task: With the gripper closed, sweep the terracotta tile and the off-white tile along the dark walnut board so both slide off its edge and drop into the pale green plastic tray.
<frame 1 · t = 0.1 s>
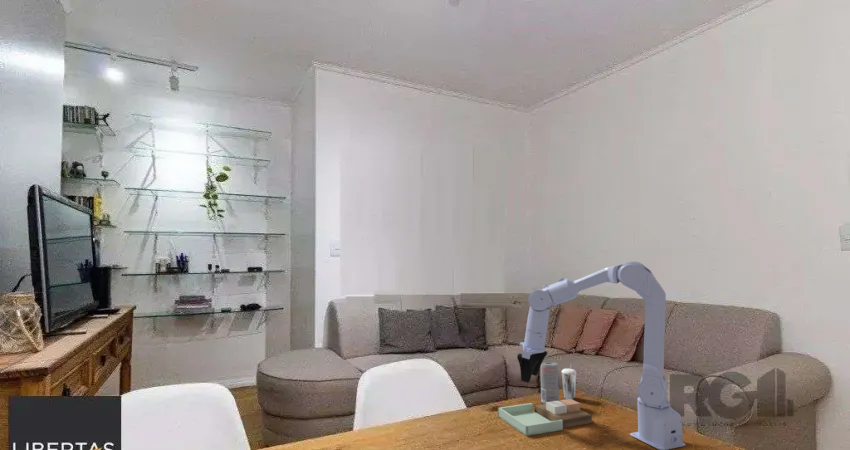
hand: (529, 378, 125), 11 cm above the table, tool pointing down, fingers open, 7 cm apart
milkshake: (569, 398, 139), on the table
tile 2: (569, 409, 124), point 2 cm above the table, touching board
tray: (529, 422, 119), on the table
tile 1: (556, 411, 122), point 2 cm above the table, touching board
board: (562, 417, 123), on the table
energy drink: (550, 403, 134), on the table
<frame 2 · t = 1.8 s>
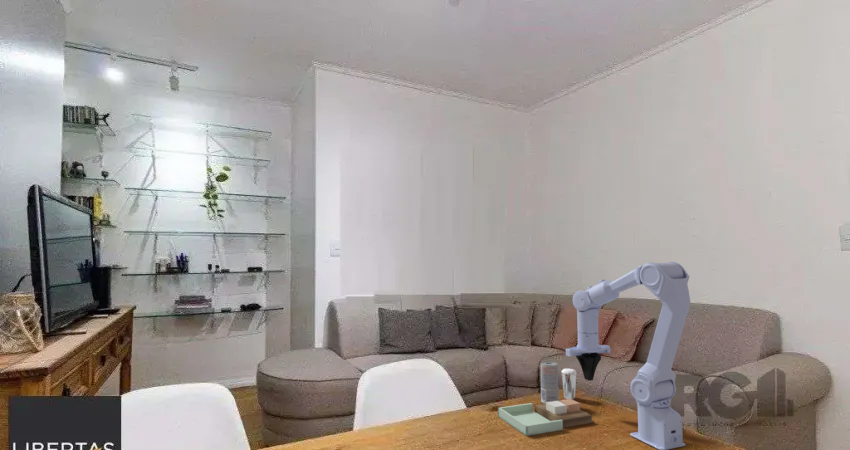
hand: (588, 379, 127), 9 cm above the table, tool pointing down, fingers closed
nothing on the table moved.
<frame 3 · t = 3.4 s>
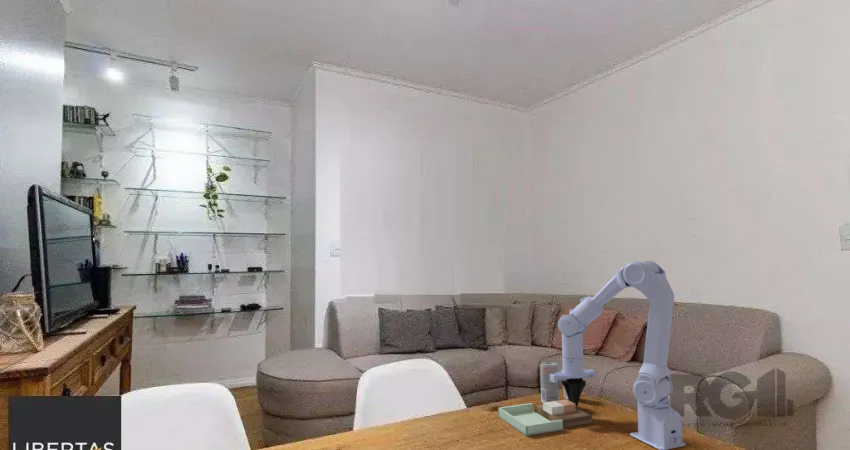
hand: (573, 405, 124), 3 cm above the table, tool pointing down, fingers closed
tile 2: (565, 409, 123), point 2 cm above the table, touching gripper
tile 1: (553, 411, 122), point 2 cm above the table
everything else where it was.
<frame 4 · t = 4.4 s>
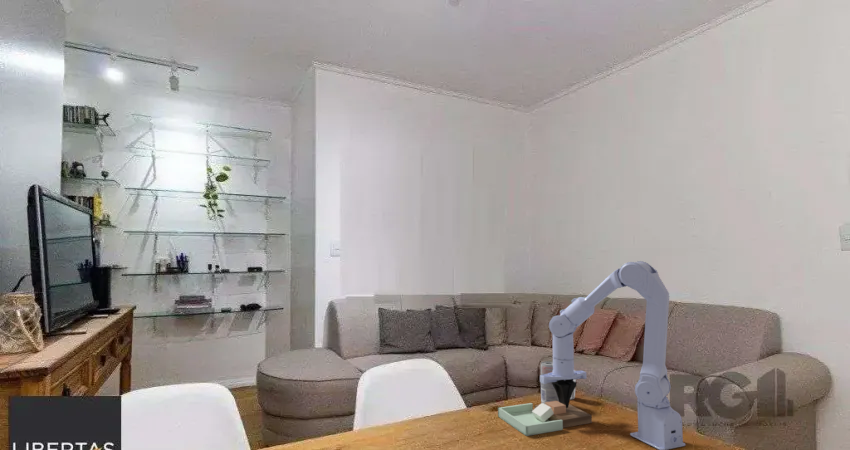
hand: (564, 406, 123), 3 cm above the table, tool pointing down, fingers closed
tile 2: (555, 411, 122), point 2 cm above the table, touching board, gripper
tile 1: (544, 415, 121), point 1 cm above the table, tilted 29°, touching board, tray
everything else where it was.
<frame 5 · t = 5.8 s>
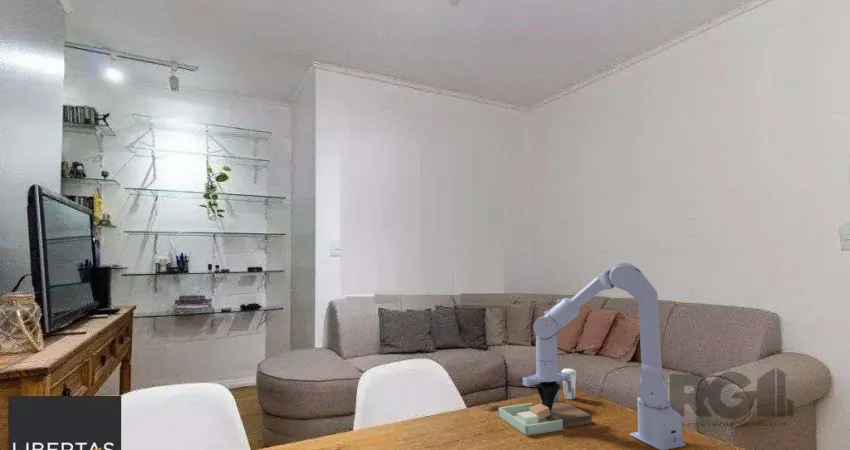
hand: (547, 409, 121), 3 cm above the table, tool pointing down, fingers closed
tile 2: (539, 414, 120), point 2 cm above the table, tilted 12°, touching gripper, tile 1
tile 1: (527, 422, 118), resting on tray, touching tile 2
everything else where it was.
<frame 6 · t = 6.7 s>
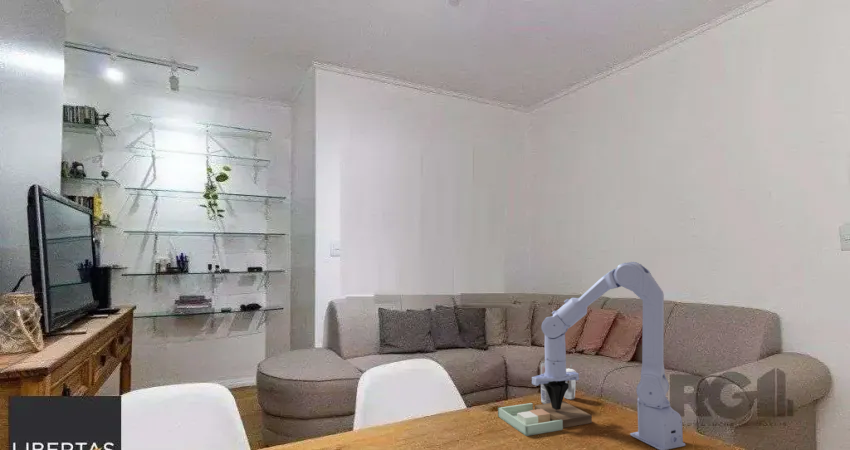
hand: (556, 408, 122), 3 cm above the table, tool pointing down, fingers closed
tile 2: (539, 419, 120), resting on tray
tile 1: (527, 422, 118), resting on tray
everything else where it was.
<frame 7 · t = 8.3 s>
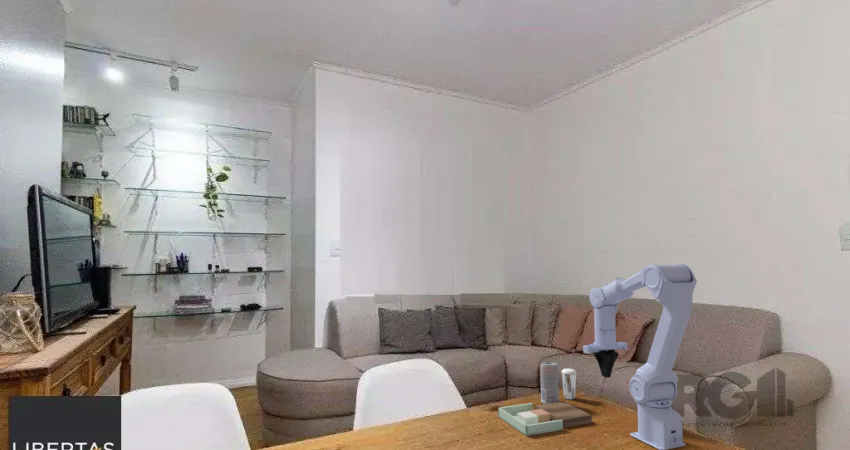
hand: (606, 376, 126), 10 cm above the table, tool pointing down, fingers closed
nothing on the table moved.
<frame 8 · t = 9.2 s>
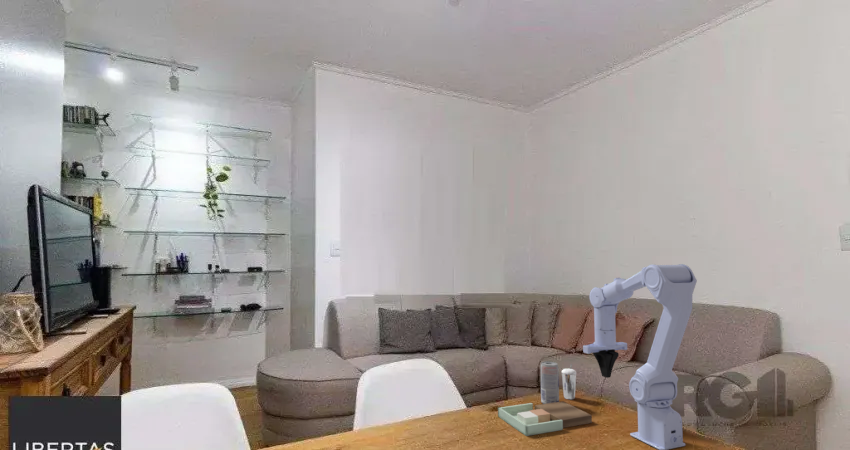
hand: (606, 376, 126), 10 cm above the table, tool pointing down, fingers closed
nothing on the table moved.
at the end: tile 1 inside the target area on the tray (0.8 cm from its centre), point 0.4 cm above the tray's base; tile 2 inside the target area on the tray (3.5 cm from its centre), point 0.4 cm above the tray's base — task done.
